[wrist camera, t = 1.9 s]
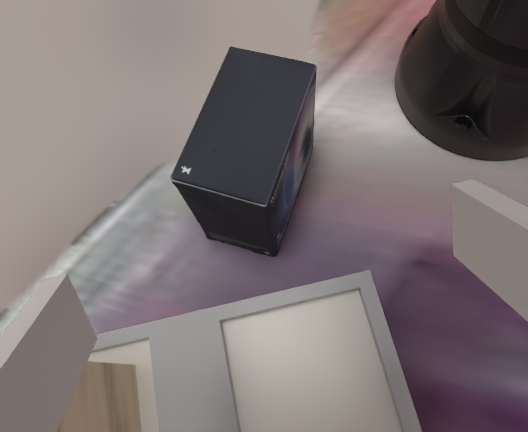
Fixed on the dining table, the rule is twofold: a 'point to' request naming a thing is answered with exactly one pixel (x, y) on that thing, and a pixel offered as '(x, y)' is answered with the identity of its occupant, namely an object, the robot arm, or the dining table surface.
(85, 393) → the block
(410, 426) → the tray
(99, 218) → the dining table surface
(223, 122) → the small box
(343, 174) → the dining table surface
